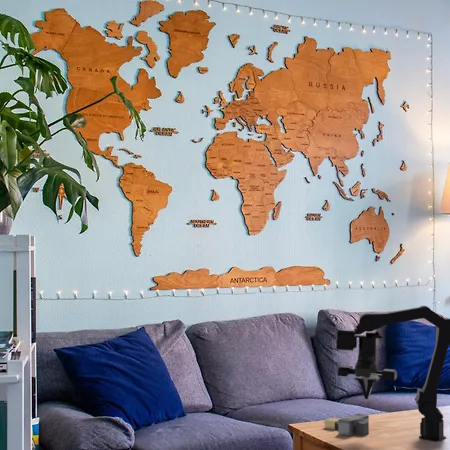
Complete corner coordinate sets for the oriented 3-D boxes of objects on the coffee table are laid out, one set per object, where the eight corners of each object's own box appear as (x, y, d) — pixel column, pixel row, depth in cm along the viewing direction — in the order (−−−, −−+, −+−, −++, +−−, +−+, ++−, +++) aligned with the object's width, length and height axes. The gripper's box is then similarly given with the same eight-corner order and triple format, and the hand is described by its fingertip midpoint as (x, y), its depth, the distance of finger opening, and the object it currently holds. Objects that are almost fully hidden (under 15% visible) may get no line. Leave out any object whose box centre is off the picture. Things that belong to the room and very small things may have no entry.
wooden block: (341, 428, 248) (341, 419, 248) (334, 430, 245) (334, 421, 245) (329, 426, 251) (329, 417, 252) (322, 428, 248) (322, 419, 249)
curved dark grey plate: (368, 429, 245) (368, 415, 245) (348, 436, 237) (348, 421, 237) (358, 427, 248) (358, 413, 248) (338, 434, 239) (338, 419, 240)
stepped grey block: (368, 433, 240) (368, 422, 240) (363, 435, 238) (363, 423, 238) (340, 428, 248) (340, 417, 248) (335, 429, 245) (335, 418, 246)
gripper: (333, 352, 236) (332, 400, 235) (391, 356, 228) (391, 406, 228) (341, 348, 246) (341, 394, 245) (397, 352, 239) (397, 400, 238)
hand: (366, 399), depth 239 cm, fingers closed
